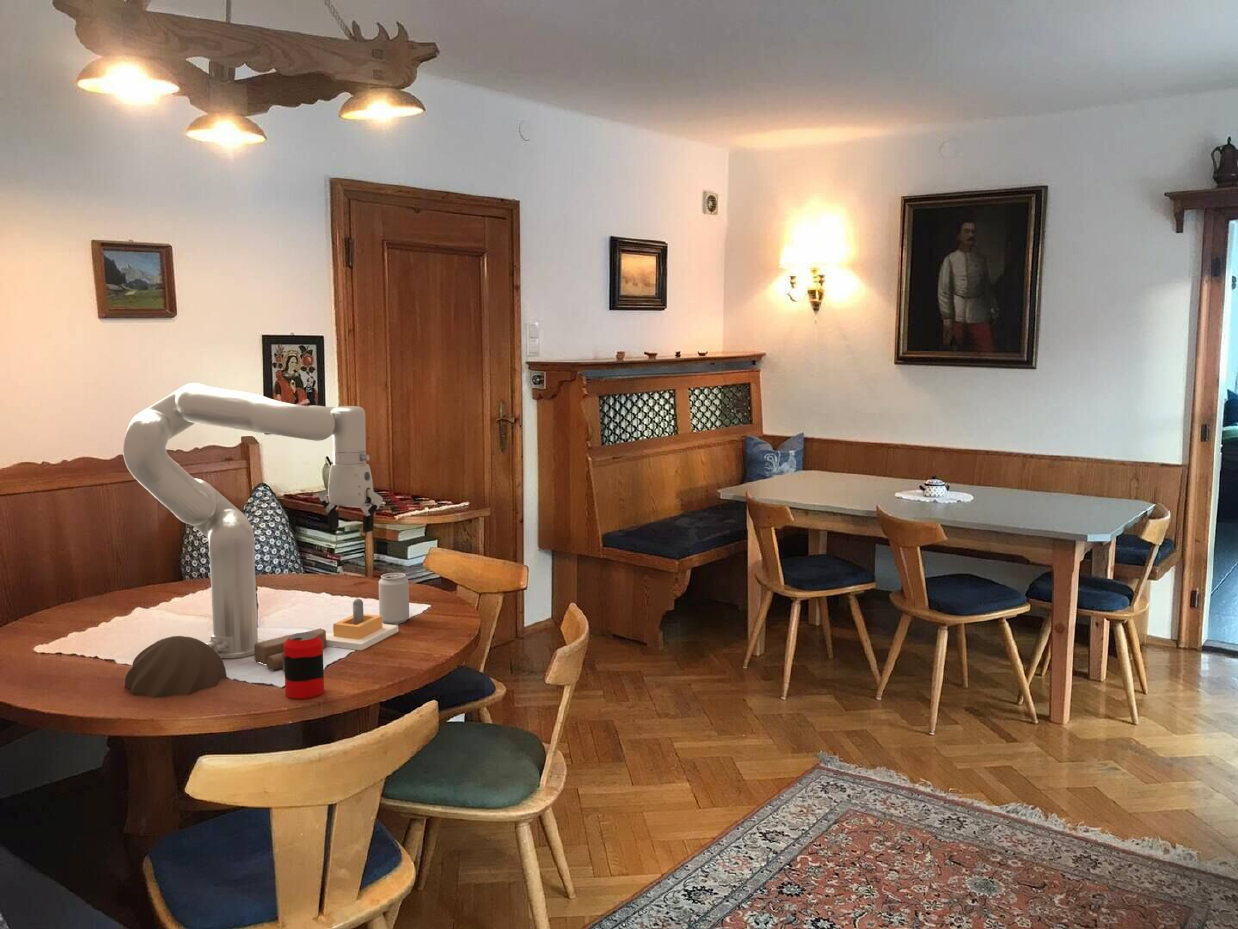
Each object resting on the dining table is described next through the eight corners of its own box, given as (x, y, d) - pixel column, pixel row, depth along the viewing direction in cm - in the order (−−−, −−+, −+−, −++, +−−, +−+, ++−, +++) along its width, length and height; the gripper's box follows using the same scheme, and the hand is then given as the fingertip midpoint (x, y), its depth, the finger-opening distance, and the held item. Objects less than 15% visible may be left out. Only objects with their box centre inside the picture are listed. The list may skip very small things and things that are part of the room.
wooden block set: (249, 640, 228) (320, 622, 241) (250, 664, 228) (320, 646, 242) (291, 655, 217) (362, 636, 230) (292, 681, 217) (363, 661, 231)
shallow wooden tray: (358, 639, 240) (358, 627, 240) (333, 636, 243) (333, 624, 242) (382, 627, 250) (382, 616, 249) (357, 625, 252) (357, 613, 252)
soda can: (278, 698, 206) (275, 640, 205) (298, 685, 214) (296, 629, 212) (312, 701, 204) (309, 643, 203) (331, 688, 212) (329, 632, 210)
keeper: (361, 650, 237) (360, 609, 236) (317, 645, 241) (316, 605, 239) (398, 631, 252) (397, 593, 251) (356, 626, 256) (355, 588, 254)
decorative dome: (244, 680, 217) (242, 634, 216) (152, 706, 202) (149, 657, 201) (198, 661, 230) (196, 617, 228) (108, 684, 214) (105, 638, 213)
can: (376, 618, 263) (375, 573, 261) (405, 615, 266) (404, 570, 265) (383, 626, 256) (381, 579, 255) (412, 622, 259) (411, 576, 258)
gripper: (389, 459, 242) (390, 530, 244) (328, 454, 248) (329, 524, 250) (371, 462, 235) (372, 535, 237) (309, 458, 241) (310, 529, 243)
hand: (350, 530), depth 243 cm, fingers open, 9 cm apart
